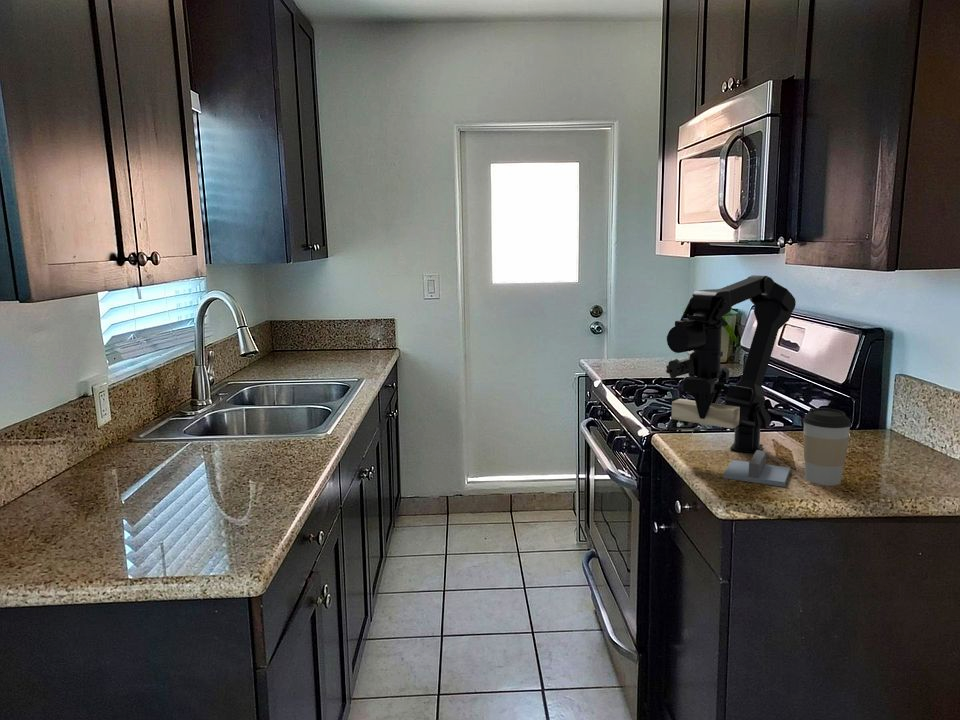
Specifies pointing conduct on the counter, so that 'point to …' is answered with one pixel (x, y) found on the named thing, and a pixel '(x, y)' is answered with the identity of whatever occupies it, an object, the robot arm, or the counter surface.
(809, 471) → the coffee cup
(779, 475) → the ridge stand
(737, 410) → the ash bar
